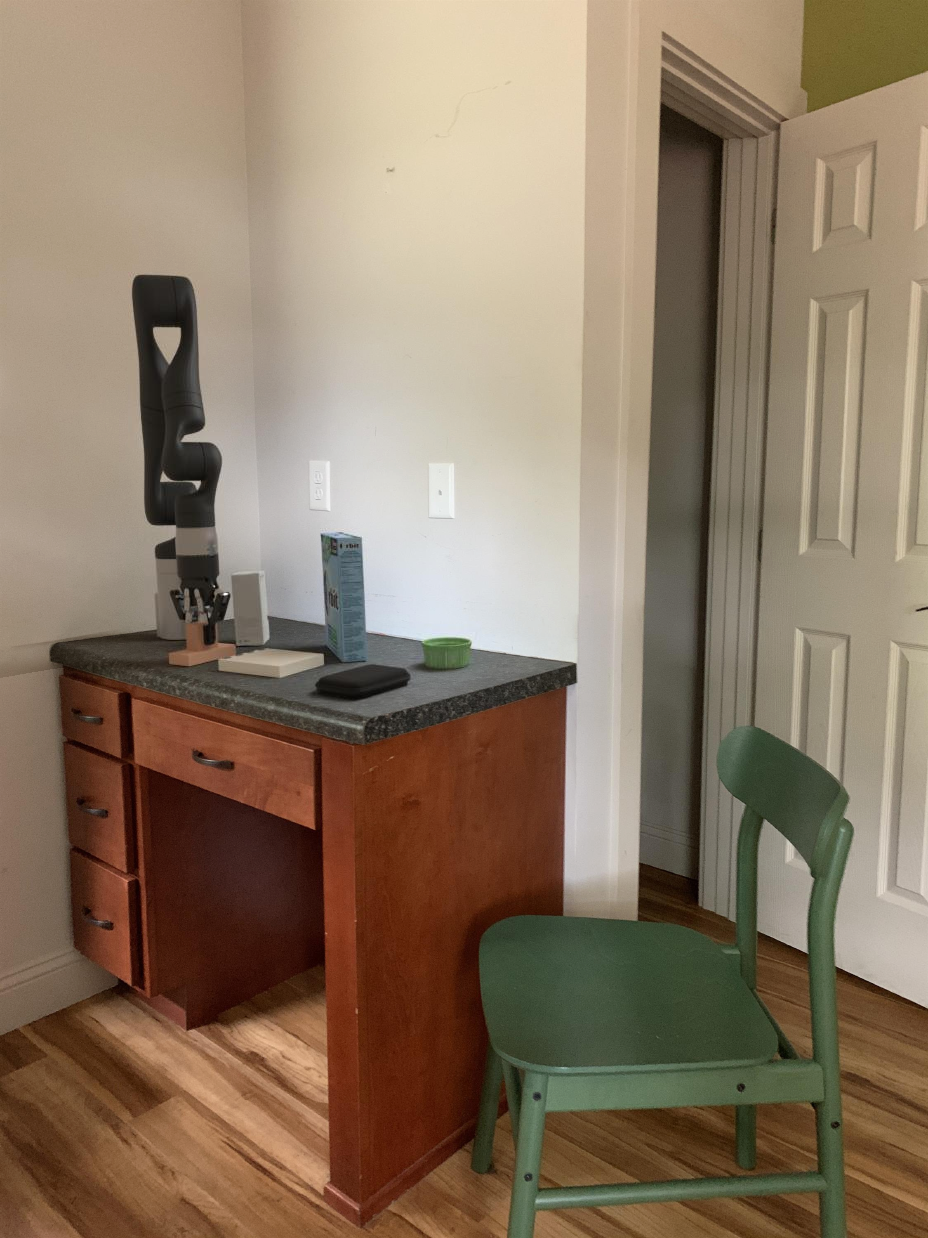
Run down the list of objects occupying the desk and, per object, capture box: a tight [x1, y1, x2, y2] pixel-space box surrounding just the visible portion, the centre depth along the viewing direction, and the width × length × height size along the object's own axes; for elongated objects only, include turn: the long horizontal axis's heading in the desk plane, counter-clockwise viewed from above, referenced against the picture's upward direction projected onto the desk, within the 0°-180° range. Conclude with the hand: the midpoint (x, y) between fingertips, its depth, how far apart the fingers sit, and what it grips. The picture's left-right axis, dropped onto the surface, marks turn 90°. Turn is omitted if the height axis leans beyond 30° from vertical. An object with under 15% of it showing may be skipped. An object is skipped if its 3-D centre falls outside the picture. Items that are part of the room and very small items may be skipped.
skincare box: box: [230, 570, 270, 647], centre depth 187 cm, size 8×6×15 cm
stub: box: [168, 621, 237, 667], centre depth 170 cm, size 5×12×7 cm, turn 151°
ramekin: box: [421, 636, 473, 670], centre depth 162 cm, size 9×9×4 cm
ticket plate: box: [217, 647, 325, 679], centre depth 162 cm, size 14×12×2 cm
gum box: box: [320, 531, 368, 663], centre depth 173 cm, size 20×5×23 cm, turn 17°
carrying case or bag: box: [314, 663, 412, 700], centre depth 145 cm, size 11×3×15 cm
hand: (202, 643), depth 170 cm, fingers closed on stub, 3 cm apart
